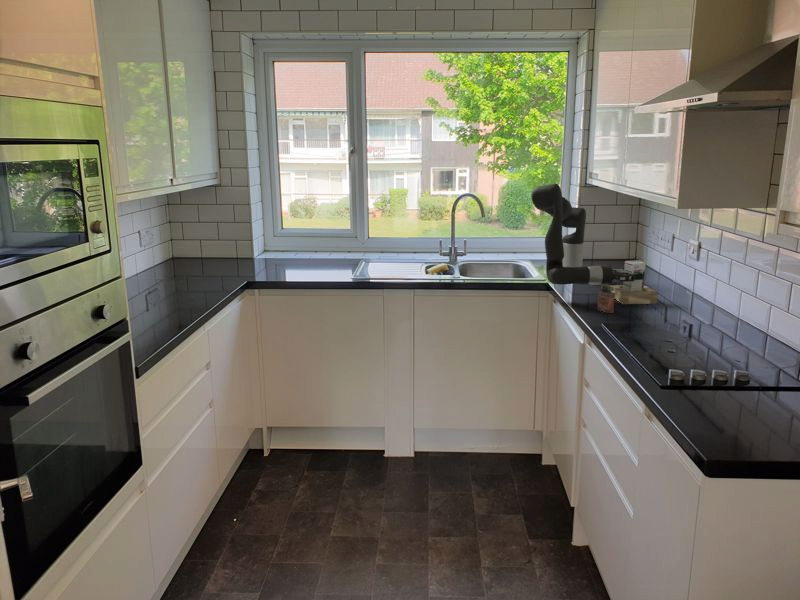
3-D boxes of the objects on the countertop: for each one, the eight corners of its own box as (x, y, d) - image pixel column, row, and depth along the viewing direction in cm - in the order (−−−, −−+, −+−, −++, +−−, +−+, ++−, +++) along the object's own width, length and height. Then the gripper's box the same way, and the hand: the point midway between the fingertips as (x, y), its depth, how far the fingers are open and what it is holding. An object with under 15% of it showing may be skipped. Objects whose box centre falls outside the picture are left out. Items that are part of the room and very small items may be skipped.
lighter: (594, 309, 239) (596, 283, 237) (601, 308, 240) (603, 282, 238) (608, 314, 232) (610, 287, 229) (616, 313, 233) (617, 287, 231)
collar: (608, 295, 260) (609, 285, 259) (642, 295, 260) (643, 284, 259) (621, 304, 246) (622, 293, 245) (656, 303, 246) (657, 292, 245)
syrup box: (630, 299, 249) (633, 263, 246) (621, 295, 255) (624, 260, 251) (642, 298, 251) (646, 262, 247) (633, 294, 256) (637, 259, 253)
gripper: (605, 269, 242) (648, 269, 243) (593, 262, 256) (633, 262, 257) (604, 288, 244) (646, 288, 245) (592, 280, 258) (632, 280, 259)
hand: (639, 274), depth 251 cm, fingers closed on syrup box, 6 cm apart
